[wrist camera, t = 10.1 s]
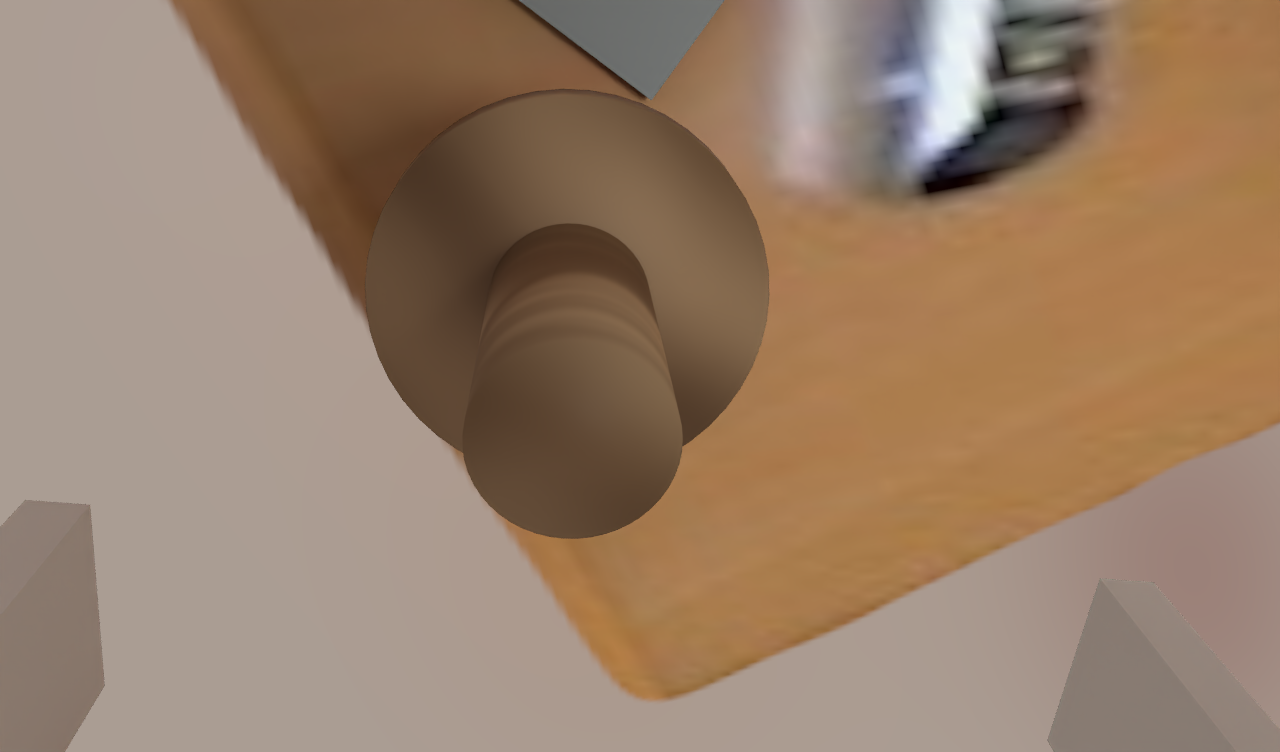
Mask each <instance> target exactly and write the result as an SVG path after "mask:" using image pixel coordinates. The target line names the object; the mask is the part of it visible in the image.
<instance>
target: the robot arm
mask: <svg viewBox="0 0 1280 752" xmlns="http://www.w3.org/2000/svg"><path fill="white" fill-rule="evenodd" d="M103 688H104V672H103V660H102V647H101V635H100V622H99V610H98V598H97V586H96V573H95V561H94V549H93V536H92V525H91V512H90V505H86V504H72V503H58V502H44V501H31V500H25V501H24V502H23V503H22V504H21V505H20V506H19V507H18V509H17V510H16V511H15V512H14V513H13V514H12V515H11V516H10V517H9V518H8V520H7V521H6V522H5V523H4V524H3V525H2V526H1V527H0V752H65V751H66V749H67V747H68V746H69V744H70V742H71V740H72V739H73V737H74V736H75V734H76V732H77V731H78V729H79V727H80V726H81V724H82V722H83V721H84V719H85V717H86V716H87V714H88V713H89V711H90V709H91V707H92V706H93V704H94V702H95V701H96V699H97V697H98V696H99V694H100V693H101V691H102V689H103ZM1048 742H1049V744H1050V746H1051V747H1052V749H1053V751H1054V752H1280V729H1279V727H1278V726H1277V725H1276V724H1275V723H1274V722H1273V720H1271V718H1270V717H1269V716H1268V715H1267V714H1266V712H1265V711H1264V710H1263V709H1262V708H1261V707H1260V706H1259V704H1258V703H1257V702H1256V701H1255V700H1254V698H1253V697H1252V696H1251V695H1250V694H1249V693H1248V691H1247V690H1246V689H1245V688H1244V687H1243V686H1242V684H1241V683H1240V682H1239V681H1238V680H1237V679H1236V678H1235V676H1234V675H1233V674H1232V673H1231V672H1230V671H1229V669H1228V668H1227V667H1226V666H1225V665H1224V664H1223V662H1222V661H1221V660H1220V659H1219V658H1218V657H1217V656H1216V654H1215V653H1214V652H1213V651H1212V650H1211V649H1210V647H1209V646H1208V645H1207V644H1206V643H1205V642H1204V641H1203V639H1202V638H1201V637H1200V636H1199V635H1198V633H1197V632H1196V631H1195V630H1194V629H1193V628H1192V627H1191V625H1190V624H1189V623H1188V622H1187V621H1186V620H1185V618H1184V617H1183V616H1182V615H1181V614H1180V613H1179V611H1178V610H1177V609H1176V608H1175V607H1174V606H1173V604H1172V603H1171V602H1170V601H1169V600H1168V599H1167V597H1165V595H1164V594H1163V593H1162V592H1161V591H1160V590H1159V588H1158V587H1157V586H1156V585H1155V584H1154V583H1153V582H1141V581H1127V580H1114V579H1100V580H1099V583H1098V586H1097V589H1096V592H1095V595H1094V598H1093V601H1092V604H1091V607H1090V610H1089V614H1088V617H1087V620H1086V623H1085V626H1084V629H1083V632H1082V635H1081V638H1080V641H1079V644H1078V647H1077V651H1076V654H1075V657H1074V660H1073V663H1072V666H1071V669H1070V672H1069V675H1068V678H1067V681H1066V684H1065V687H1064V691H1063V694H1062V697H1061V700H1060V703H1059V706H1058V709H1057V712H1056V715H1055V718H1054V721H1053V724H1052V728H1051V731H1050V734H1049V737H1048Z"/></svg>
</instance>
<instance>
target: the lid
mask: <svg viewBox="0 0 1280 752" xmlns="http://www.w3.org/2000/svg"><path fill="white" fill-rule="evenodd" d="M365 294H366V311H367V316H368V322H369V327H370V333H371V336H372V339H373V342H374V345H375V348H376V351H377V354H378V357H379V359H380V361H381V363H382V365H383V368H384V370H385V372H386V374H387V376H388V378H389V380H390V381H391V383H392V384H393V386H394V387H395V389H396V390H397V392H398V393H399V395H400V397H401V398H402V400H403V401H404V402H405V403H406V404H407V406H408V407H409V408H410V409H411V410H412V411H413V413H414V414H415V415H416V416H417V417H418V418H419V419H420V420H421V421H422V422H423V423H424V424H425V425H426V426H427V427H428V428H430V429H431V430H432V431H433V432H434V433H435V434H436V435H437V436H439V437H440V438H442V439H443V440H444V441H446V442H447V443H449V444H450V445H452V446H453V447H454V448H456V449H457V450H459V451H461V452H463V454H464V460H465V464H466V467H467V470H468V473H469V475H470V477H471V480H472V482H473V484H474V486H475V487H476V489H477V490H478V492H479V493H480V495H481V496H482V497H483V498H484V500H485V501H486V502H487V503H488V504H489V505H490V506H491V507H492V508H493V509H494V510H495V511H496V512H497V513H498V514H500V515H501V516H502V517H504V518H505V519H507V520H508V521H510V522H511V523H513V524H515V525H517V526H519V527H521V528H523V529H526V530H528V531H531V532H534V533H536V534H541V535H545V536H549V537H556V538H571V539H578V538H588V537H594V536H598V535H603V534H606V533H609V532H612V531H615V530H618V529H620V528H622V527H624V526H626V525H628V524H630V523H632V522H633V521H635V520H637V519H638V518H640V517H641V516H642V515H644V514H645V513H646V512H647V511H649V510H650V509H651V508H652V507H653V506H654V505H655V504H656V503H657V502H658V501H659V500H660V499H661V497H662V496H663V494H664V493H665V492H666V490H667V489H668V487H669V486H670V484H671V482H672V480H673V478H674V476H675V474H676V471H677V468H678V466H679V462H680V458H681V453H682V446H684V445H685V444H687V443H689V442H690V441H691V440H693V439H694V438H695V437H696V436H697V435H699V434H700V433H701V432H702V431H704V430H705V429H706V428H707V427H708V426H710V424H711V423H712V422H713V421H714V420H715V419H716V418H717V417H718V416H719V415H720V414H721V413H722V412H723V411H724V410H725V409H726V407H727V406H728V405H729V403H730V402H731V401H732V399H733V398H734V396H735V395H736V394H737V392H738V391H739V390H740V388H741V386H742V385H743V383H744V381H745V379H746V377H747V375H748V374H749V372H750V370H751V368H752V366H753V363H754V361H755V358H756V356H757V353H758V351H759V348H760V345H761V342H762V338H763V334H764V330H765V326H766V322H767V314H768V304H769V270H768V264H767V259H766V253H765V247H764V243H763V240H762V237H761V234H760V231H759V228H758V224H757V221H756V219H755V217H754V215H753V213H752V211H751V209H750V207H749V205H748V203H747V200H746V198H745V197H744V195H743V194H742V192H741V191H740V189H739V188H738V186H737V185H736V183H735V182H734V180H733V178H732V177H731V175H730V174H729V172H728V171H727V169H726V168H725V166H724V165H723V164H722V163H721V162H720V161H719V159H718V158H717V157H716V156H715V155H714V154H713V153H712V151H711V150H710V149H709V148H708V147H707V146H706V145H705V144H704V143H703V142H701V141H700V140H699V139H698V138H697V137H696V136H695V135H693V134H692V133H691V132H690V131H689V130H688V129H686V128H685V127H683V126H682V125H680V124H679V123H677V122H676V121H674V120H672V119H671V118H669V117H668V116H666V115H665V114H663V113H660V112H658V111H656V110H654V109H652V108H650V107H648V106H646V105H644V104H642V103H639V102H636V101H632V100H629V99H626V98H623V97H620V96H617V95H612V94H607V93H601V92H596V91H590V90H572V89H557V90H546V91H535V92H530V93H526V94H522V95H517V96H513V97H508V98H506V99H503V100H500V101H498V102H495V103H492V104H490V105H487V106H484V107H482V108H480V109H478V110H476V111H475V112H473V113H471V114H469V115H467V116H465V117H463V118H462V119H460V120H458V121H457V122H456V123H454V124H453V125H451V126H450V127H449V128H447V129H446V130H445V131H443V132H442V133H441V134H439V135H438V136H437V137H436V138H435V139H434V140H433V141H432V142H431V143H430V144H429V145H428V146H427V147H425V148H424V149H423V150H422V151H421V152H420V153H419V155H418V156H417V157H416V158H415V160H414V161H413V162H412V163H411V165H410V166H409V167H408V169H407V170H406V171H405V172H404V174H403V175H402V177H401V179H400V180H399V182H398V184H397V185H396V187H395V189H394V190H393V192H392V194H391V196H390V197H389V199H388V201H387V203H386V204H385V206H384V208H383V210H382V213H381V215H380V218H379V220H378V223H377V225H376V228H375V230H374V233H373V237H372V241H371V245H370V249H369V254H368V258H367V268H366V278H365Z"/></svg>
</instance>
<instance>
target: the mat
mask: <svg viewBox="0 0 1280 752" xmlns="http://www.w3.org/2000/svg"><path fill="white" fill-rule="evenodd" d="M519 1H520V2H522V3H523V4H524V5H526V6H527V7H528V8H530V9H531V10H532V11H534V12H535V13H536V14H538V15H539V16H540V17H542V18H543V19H544V20H546V21H547V22H548V23H550V24H551V25H552V26H554V27H555V28H556V29H558V30H559V31H560V32H562V33H563V34H564V35H566V36H567V37H568V38H569V39H571V40H572V41H573V42H575V43H576V44H577V45H579V46H580V47H581V48H583V49H584V50H585V51H587V52H588V53H589V54H591V55H592V56H593V57H595V58H596V59H597V60H599V61H600V62H601V63H603V64H604V65H605V66H607V67H608V68H609V69H611V70H612V71H613V72H615V73H616V74H617V75H618V76H620V77H621V78H622V79H624V80H625V81H626V82H628V83H629V84H630V85H632V86H633V87H634V88H636V89H637V90H638V91H640V92H641V93H642V94H644V95H645V96H646V97H648V98H649V99H650V100H652V99H653V98H654V96H655V95H656V93H657V92H658V91H659V89H660V88H661V87H662V85H663V84H664V82H665V81H666V80H667V78H668V77H669V76H670V74H671V73H672V71H673V70H674V69H675V67H676V66H677V65H678V63H679V62H680V60H681V59H682V58H683V56H684V55H685V54H686V52H687V51H688V50H689V48H690V47H691V45H692V44H693V43H694V41H695V40H696V39H697V37H698V36H699V34H700V33H701V32H702V30H703V29H704V28H705V26H706V25H707V23H708V22H709V21H710V19H711V18H712V17H713V15H714V14H715V12H716V11H717V10H718V8H719V7H720V6H721V4H722V3H723V1H724V0H519Z"/></svg>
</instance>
